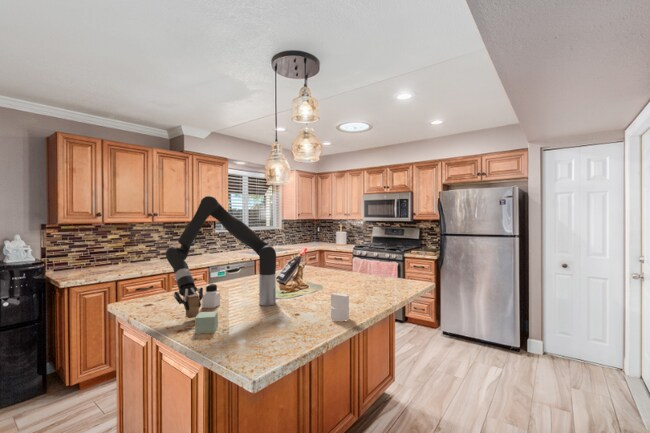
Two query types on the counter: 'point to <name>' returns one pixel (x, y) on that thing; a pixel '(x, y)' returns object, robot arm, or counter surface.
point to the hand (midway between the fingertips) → (193, 308)
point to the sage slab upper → (206, 318)
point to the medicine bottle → (211, 297)
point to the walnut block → (192, 305)
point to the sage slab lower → (206, 328)
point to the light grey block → (339, 307)
